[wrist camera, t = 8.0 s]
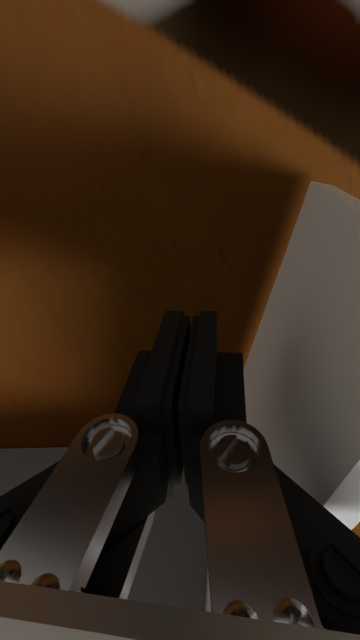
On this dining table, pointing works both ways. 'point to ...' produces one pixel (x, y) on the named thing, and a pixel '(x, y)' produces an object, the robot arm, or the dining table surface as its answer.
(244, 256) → the dining table surface
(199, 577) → the box
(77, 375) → the dining table surface
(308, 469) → the side door
